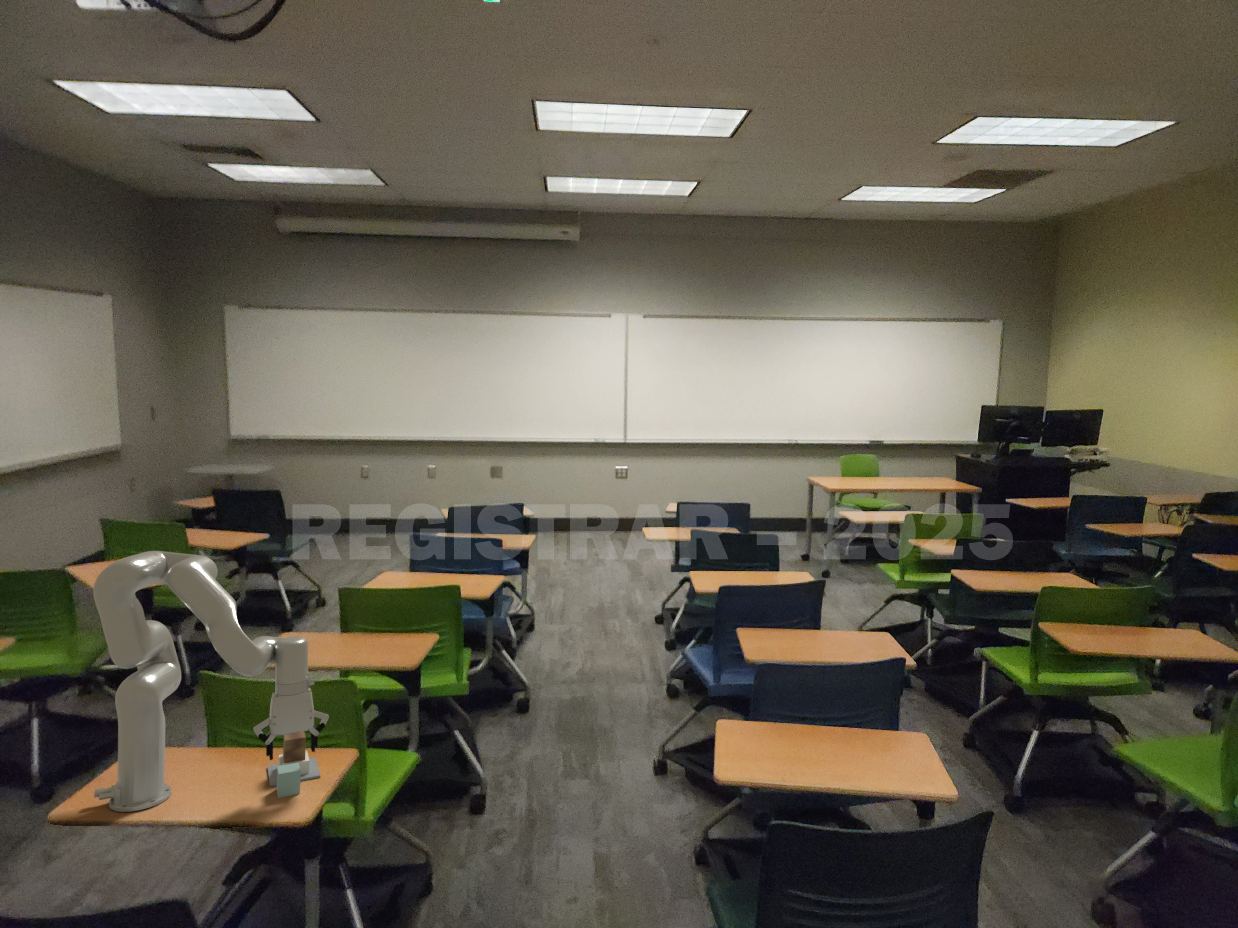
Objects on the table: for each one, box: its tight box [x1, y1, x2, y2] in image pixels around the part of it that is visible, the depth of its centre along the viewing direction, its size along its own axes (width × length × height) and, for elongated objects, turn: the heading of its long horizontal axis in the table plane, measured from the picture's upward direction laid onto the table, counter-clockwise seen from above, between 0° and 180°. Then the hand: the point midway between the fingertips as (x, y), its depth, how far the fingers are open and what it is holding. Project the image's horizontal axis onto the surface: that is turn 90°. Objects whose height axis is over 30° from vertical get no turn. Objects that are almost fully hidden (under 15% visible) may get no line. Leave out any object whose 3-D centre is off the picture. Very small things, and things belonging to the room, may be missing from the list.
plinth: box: [267, 749, 321, 788], centre depth 186 cm, size 12×12×4 cm
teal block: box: [276, 762, 301, 799], centre depth 176 cm, size 5×5×6 cm
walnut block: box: [282, 731, 307, 763], centre depth 186 cm, size 5×5×6 cm
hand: (292, 753), depth 176 cm, fingers open, 9 cm apart
